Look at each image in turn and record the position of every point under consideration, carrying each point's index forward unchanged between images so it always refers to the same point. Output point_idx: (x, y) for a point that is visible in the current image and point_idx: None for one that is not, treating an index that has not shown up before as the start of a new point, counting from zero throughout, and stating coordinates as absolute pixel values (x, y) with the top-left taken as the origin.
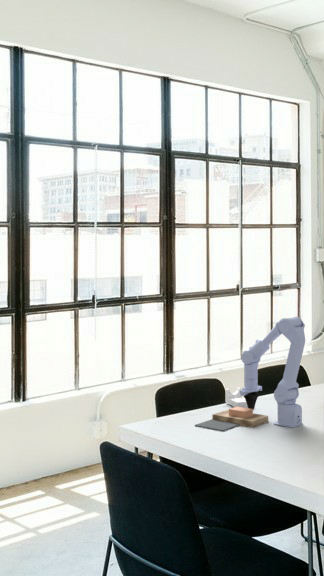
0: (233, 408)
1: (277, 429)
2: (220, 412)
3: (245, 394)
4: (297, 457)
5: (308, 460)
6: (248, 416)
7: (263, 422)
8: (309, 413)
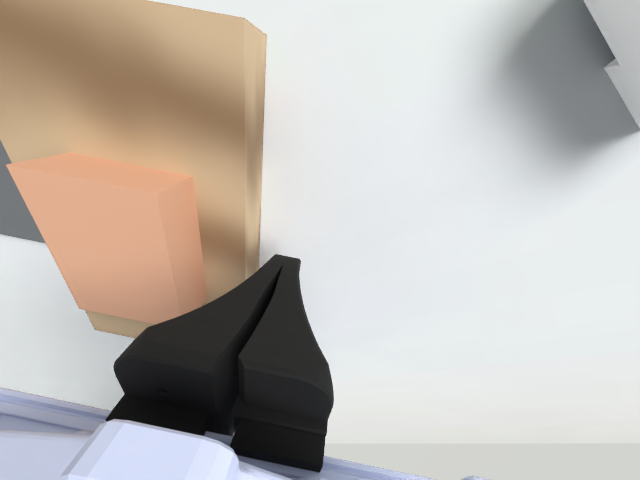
0: (64, 198)
1: None
2: (53, 8)
3: (46, 414)
4: None
5: None
6: None
7: None
8: (491, 423)
